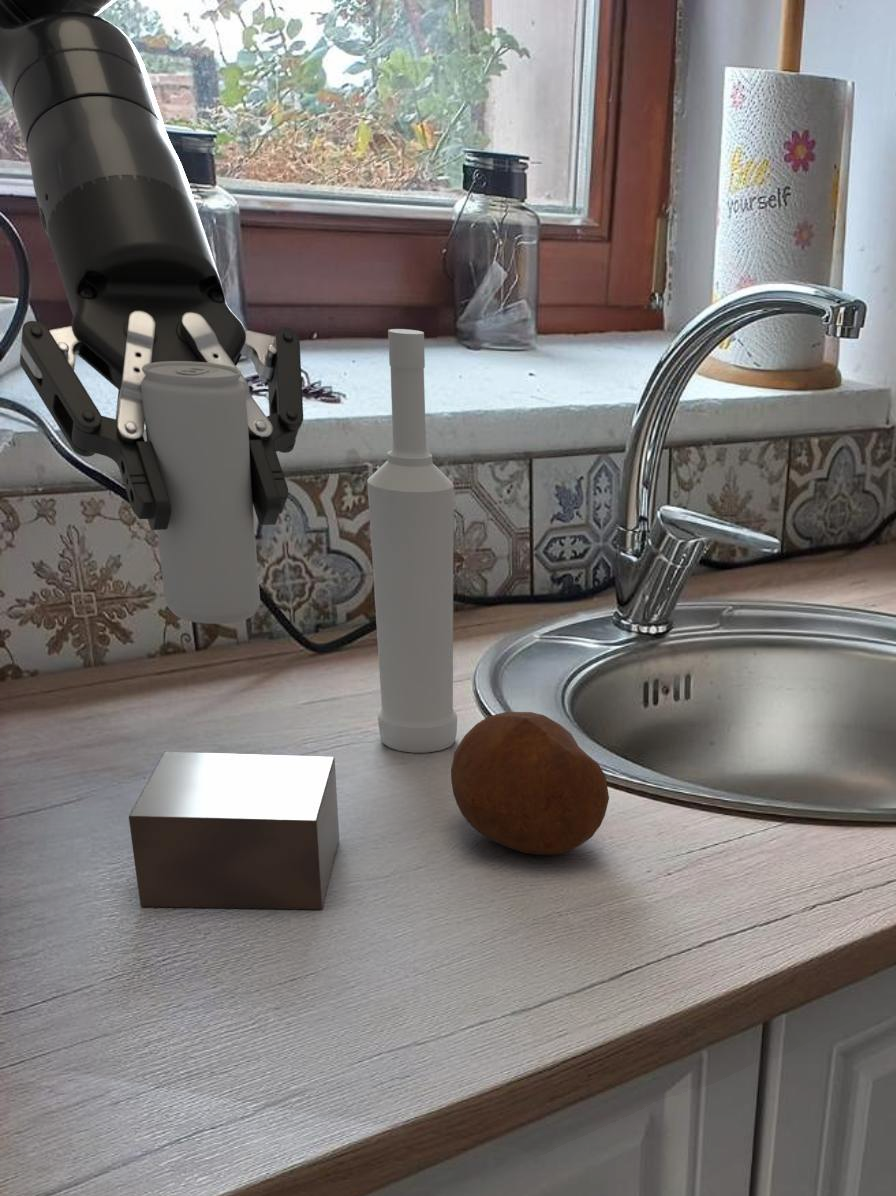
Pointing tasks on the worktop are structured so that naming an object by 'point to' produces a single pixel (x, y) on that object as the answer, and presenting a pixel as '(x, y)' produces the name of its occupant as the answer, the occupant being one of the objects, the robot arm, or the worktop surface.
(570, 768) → the potato
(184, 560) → the beverage can
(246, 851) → the metal block
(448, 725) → the bottle
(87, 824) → the worktop surface
